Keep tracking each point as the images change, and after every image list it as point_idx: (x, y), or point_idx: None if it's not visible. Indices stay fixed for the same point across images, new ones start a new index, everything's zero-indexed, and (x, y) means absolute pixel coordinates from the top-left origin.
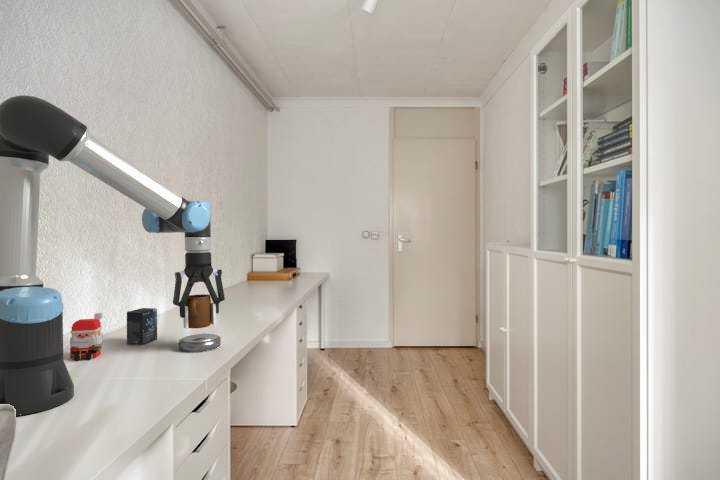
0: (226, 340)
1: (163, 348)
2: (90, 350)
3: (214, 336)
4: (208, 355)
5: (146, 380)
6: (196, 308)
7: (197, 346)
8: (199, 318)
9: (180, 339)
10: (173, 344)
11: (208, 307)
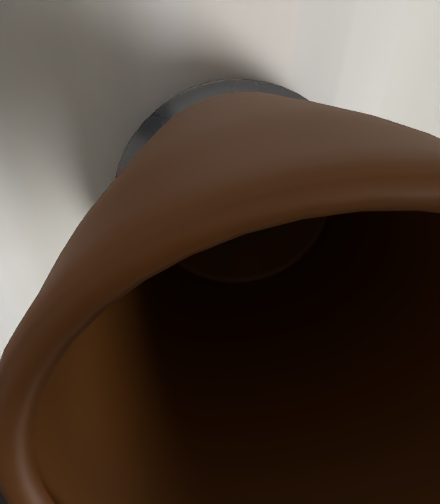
0: (402, 82)
1: (26, 132)
2: None
3: None
4: None
5: None
6: (238, 423)
7: None
8: (252, 336)
9: (117, 172)
10: (64, 34)
11: (379, 375)
